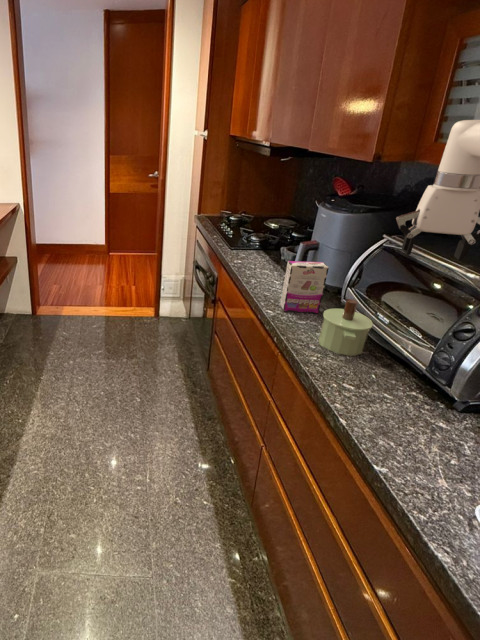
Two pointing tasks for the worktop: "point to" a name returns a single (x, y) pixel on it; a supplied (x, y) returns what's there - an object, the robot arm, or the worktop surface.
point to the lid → (348, 317)
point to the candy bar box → (303, 286)
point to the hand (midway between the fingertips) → (431, 256)
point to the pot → (342, 339)
